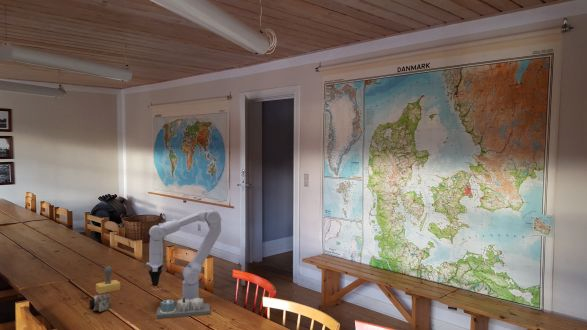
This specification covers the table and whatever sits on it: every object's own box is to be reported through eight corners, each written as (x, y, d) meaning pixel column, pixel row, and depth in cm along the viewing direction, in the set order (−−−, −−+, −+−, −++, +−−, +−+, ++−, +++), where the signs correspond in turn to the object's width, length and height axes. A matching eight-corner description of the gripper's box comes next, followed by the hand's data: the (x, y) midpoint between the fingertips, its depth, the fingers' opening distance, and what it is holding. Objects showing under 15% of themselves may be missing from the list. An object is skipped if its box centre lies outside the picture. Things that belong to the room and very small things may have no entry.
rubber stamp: (99, 294, 204) (99, 269, 203) (95, 291, 208) (95, 266, 208) (120, 289, 211) (120, 265, 210) (116, 286, 215) (116, 263, 214)
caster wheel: (98, 308, 193) (117, 307, 190) (80, 312, 182) (100, 311, 180) (98, 293, 194) (117, 292, 192) (80, 296, 183) (100, 295, 181)
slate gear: (161, 307, 184) (161, 299, 184) (175, 306, 186) (175, 298, 185) (160, 313, 179) (160, 304, 178) (174, 311, 180) (174, 303, 180)
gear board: (157, 310, 185) (157, 295, 185) (209, 306, 191) (209, 291, 191) (156, 318, 177) (156, 302, 176) (210, 314, 182) (210, 298, 182)
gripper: (147, 249, 195) (147, 278, 196) (145, 257, 181) (144, 288, 182) (163, 248, 197) (163, 277, 198) (162, 256, 183) (162, 287, 184)
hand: (155, 283), depth 190 cm, fingers open, 7 cm apart
